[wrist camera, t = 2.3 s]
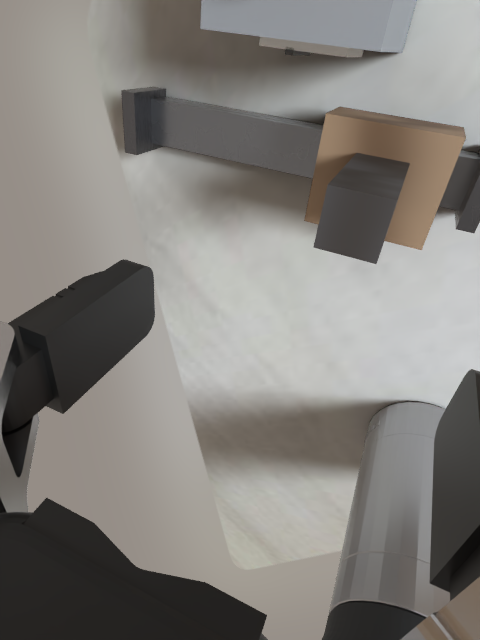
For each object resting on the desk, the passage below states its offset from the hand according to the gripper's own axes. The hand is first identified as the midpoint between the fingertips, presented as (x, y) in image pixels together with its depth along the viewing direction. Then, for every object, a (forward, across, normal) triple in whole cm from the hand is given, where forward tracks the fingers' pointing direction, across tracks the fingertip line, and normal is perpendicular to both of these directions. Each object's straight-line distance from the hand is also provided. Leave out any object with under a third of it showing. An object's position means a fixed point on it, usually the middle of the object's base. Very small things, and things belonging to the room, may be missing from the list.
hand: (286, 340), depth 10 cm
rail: (+22, +6, 0) cm, 23 cm away
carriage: (+22, 0, 0) cm, 22 cm away
